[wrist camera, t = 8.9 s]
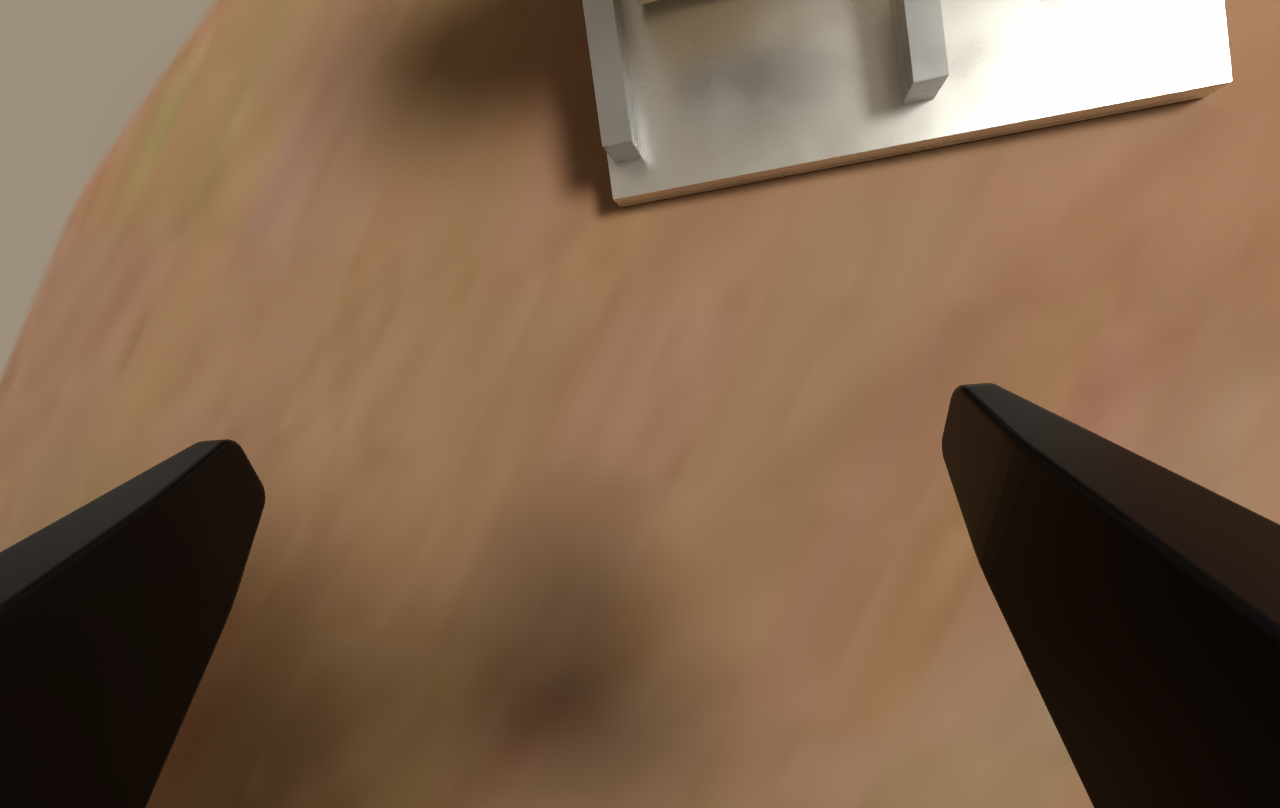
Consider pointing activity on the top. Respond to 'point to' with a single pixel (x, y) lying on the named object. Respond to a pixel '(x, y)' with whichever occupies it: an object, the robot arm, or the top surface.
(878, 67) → the gauge frame
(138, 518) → the robot arm
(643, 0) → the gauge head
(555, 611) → the top surface
